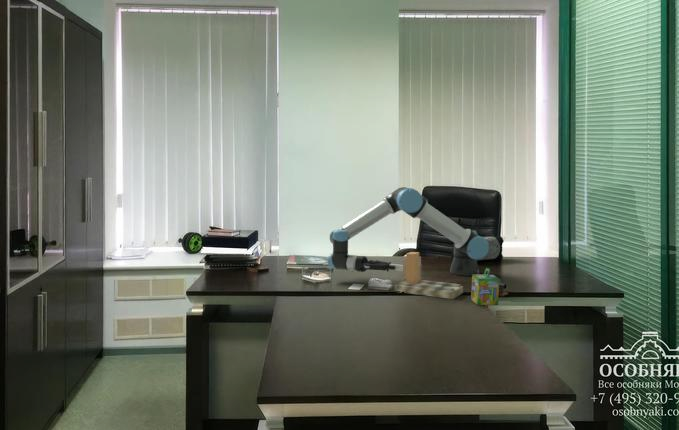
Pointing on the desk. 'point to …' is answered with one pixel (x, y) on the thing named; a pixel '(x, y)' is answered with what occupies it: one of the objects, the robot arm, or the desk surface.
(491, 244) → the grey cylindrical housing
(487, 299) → the chalk box
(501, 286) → the electronic device
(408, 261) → the tall orange upright pillar
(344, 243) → the robot arm
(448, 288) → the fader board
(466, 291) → the desk surface
